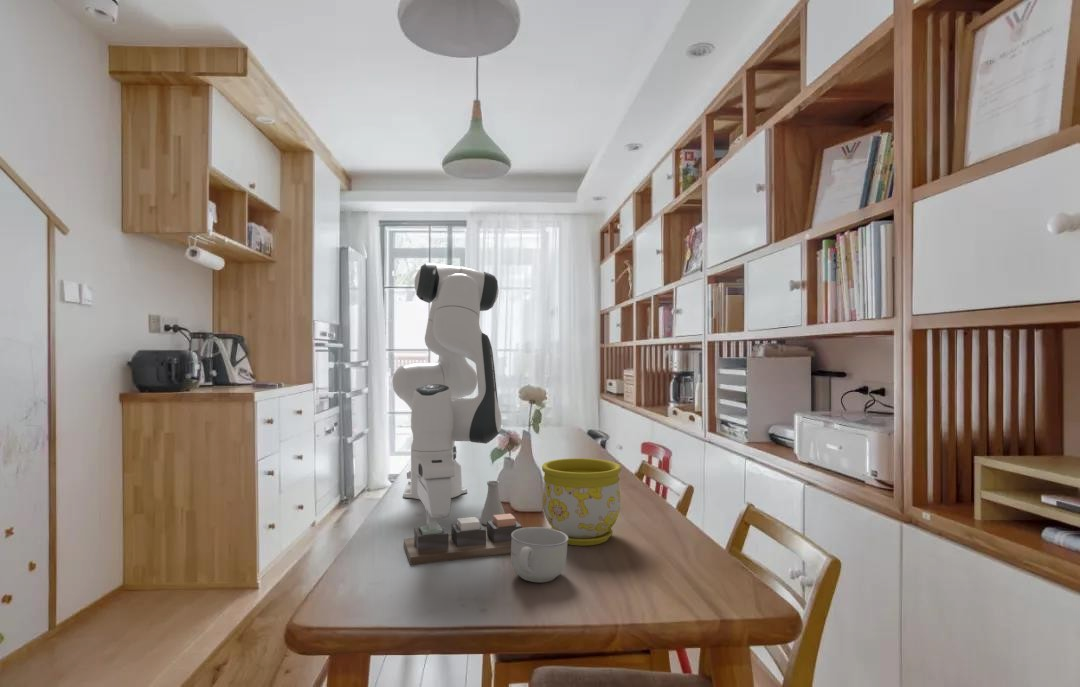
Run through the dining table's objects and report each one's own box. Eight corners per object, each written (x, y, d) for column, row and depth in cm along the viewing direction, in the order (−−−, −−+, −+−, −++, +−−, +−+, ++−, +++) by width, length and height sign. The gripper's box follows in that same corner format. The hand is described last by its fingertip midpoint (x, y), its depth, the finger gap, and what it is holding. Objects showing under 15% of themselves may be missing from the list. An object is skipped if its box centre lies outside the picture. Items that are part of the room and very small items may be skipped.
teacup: (530, 562, 118) (530, 522, 118) (578, 573, 112) (578, 531, 112) (489, 586, 106) (489, 541, 106) (541, 599, 100) (541, 552, 100)
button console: (403, 545, 127) (403, 525, 127) (517, 533, 136) (517, 514, 136) (410, 564, 116) (410, 542, 116) (534, 550, 125) (534, 529, 125)
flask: (503, 527, 141) (503, 485, 141) (474, 525, 143) (474, 484, 143) (510, 518, 148) (510, 479, 148) (483, 517, 150) (483, 478, 150)
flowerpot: (527, 542, 130) (527, 468, 130) (562, 521, 146) (562, 455, 146) (603, 555, 122) (603, 476, 122) (631, 532, 138) (631, 462, 138)
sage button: (420, 535, 125) (420, 526, 125) (439, 533, 126) (439, 524, 126) (422, 541, 121) (423, 531, 121) (442, 539, 122) (442, 529, 122)
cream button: (457, 527, 127) (457, 518, 127) (475, 525, 129) (475, 516, 129) (461, 533, 124) (461, 523, 124) (479, 531, 125) (479, 521, 125)
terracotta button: (493, 524, 130) (493, 515, 130) (510, 522, 131) (510, 513, 131) (497, 529, 126) (497, 520, 126) (515, 527, 128) (515, 518, 128)
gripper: (410, 454, 132) (410, 516, 132) (424, 472, 113) (424, 544, 113) (438, 453, 134) (438, 513, 134) (456, 469, 115) (456, 540, 115)
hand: (432, 527), depth 123 cm, fingers closed
